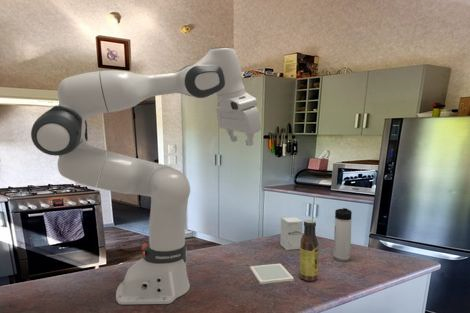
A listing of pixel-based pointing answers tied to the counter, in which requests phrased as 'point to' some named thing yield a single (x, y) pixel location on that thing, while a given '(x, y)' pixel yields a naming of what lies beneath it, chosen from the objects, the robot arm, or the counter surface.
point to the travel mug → (342, 234)
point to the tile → (271, 273)
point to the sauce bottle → (309, 252)
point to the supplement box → (291, 233)
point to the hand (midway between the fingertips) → (241, 143)
